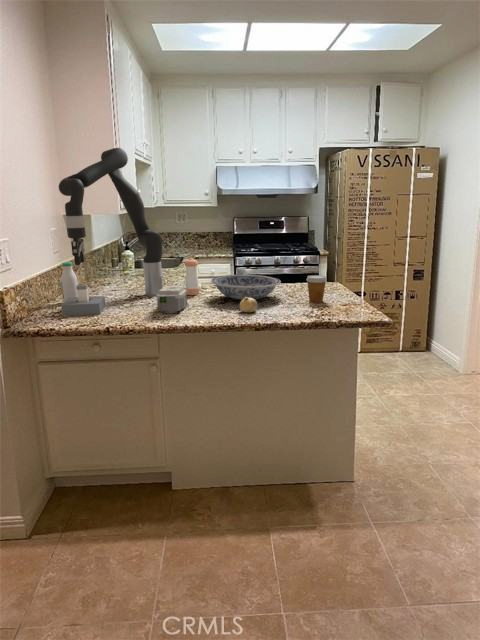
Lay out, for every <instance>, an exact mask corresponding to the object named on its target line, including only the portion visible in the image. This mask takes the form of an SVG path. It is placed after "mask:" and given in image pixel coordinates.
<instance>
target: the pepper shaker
mask: <svg viewBox="0 0 480 640" xmlns="http://www.w3.org/2000/svg"><path fill="white" fill-rule="evenodd" d="M183 264H184V266H185V272H186V273H185V274H186V276H185V288H186V289H184V290H187V295H196V296H199V295H200V287H199V278H198V269H197V268H198V267H197V266H198V265H199V262H198V260H197V259H193V258H192V257H190V258H189V259H186V260H185V261H184V262H183ZM198 294H199V295H198Z"/></svg>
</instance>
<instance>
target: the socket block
mask: <svg viewBox="0 0 480 640" xmlns="http://www.w3.org/2000/svg"><path fill="white" fill-rule="evenodd" d="M105 308H106V296H105V295H100V296H98V295H97V296H89V302H78V297H72V298H68V299H67V300H66V301H65V302H64V303H62V304H61V313H62V317H72V316H73V317H74V316H75V317H76V316H77V317H78V316H95V315H101V314H102V313H103V311H104V310H105Z"/></svg>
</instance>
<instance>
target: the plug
mask: <svg viewBox="0 0 480 640" xmlns="http://www.w3.org/2000/svg"><path fill="white" fill-rule="evenodd" d="M76 287H77V295H78V302H89V297H90V294H89V286H88V284H87V283H83V284H78V285H77V286H76Z"/></svg>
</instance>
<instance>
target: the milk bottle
mask: <svg viewBox="0 0 480 640" xmlns="http://www.w3.org/2000/svg"><path fill="white" fill-rule="evenodd" d="M61 266H62V274H61V276H60V286H61V296H62V301H63V303H64V302H65V301H66V300H67V299H68V298H72V297H78V295H77V287H76V286H77V285H79V283H78V277H77V275H76V273H75V272H74V269H73V262H72V261H64V262H62V263H61ZM63 303H62V304H63Z"/></svg>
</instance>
